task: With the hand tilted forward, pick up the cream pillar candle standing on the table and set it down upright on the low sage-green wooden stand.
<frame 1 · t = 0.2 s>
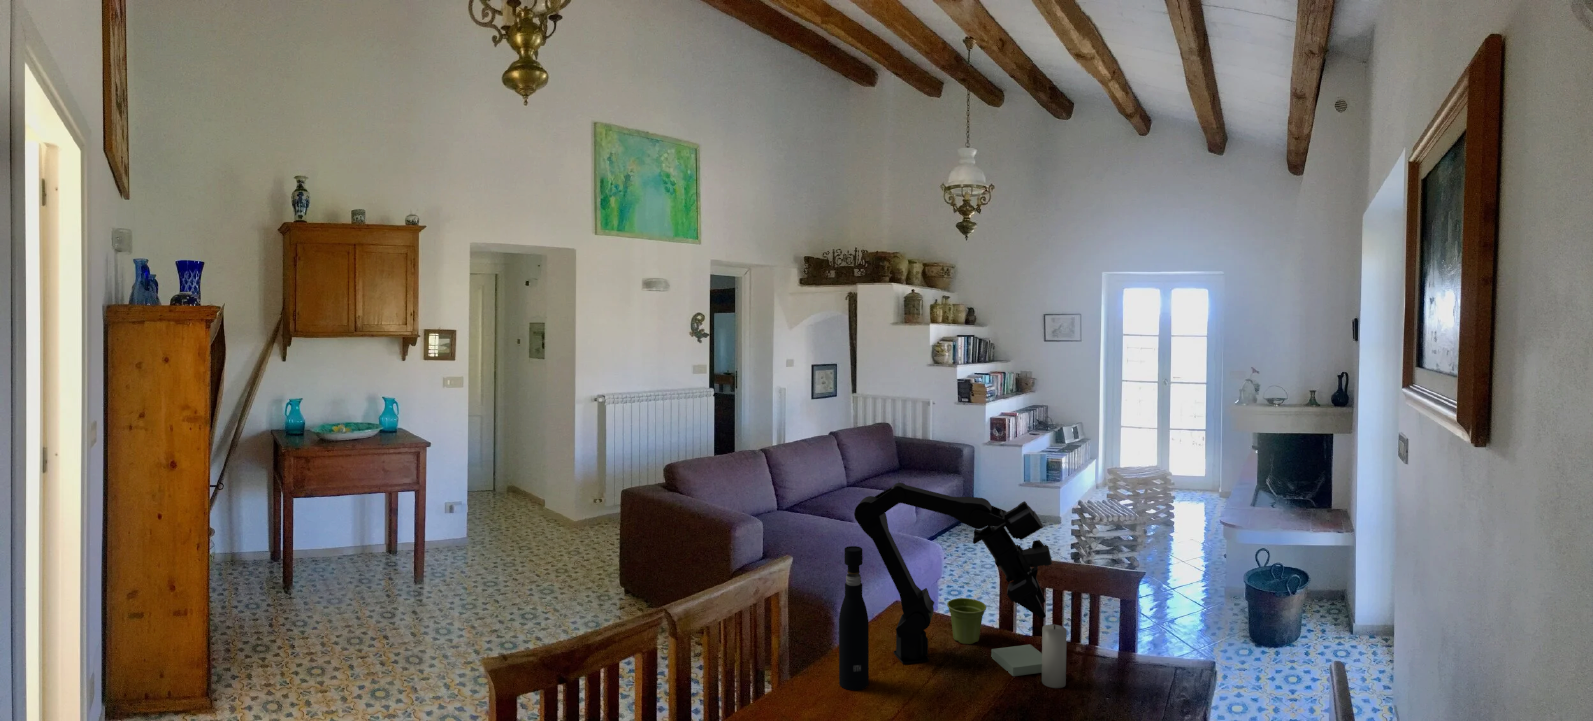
hand: (1043, 609, 183), 14 cm above the table, tool tilted 35°, fingers open, 9 cm apart
candle: (1053, 682, 179), on the table
plant pot: (966, 640, 202), on the table
stand: (1021, 663, 188), on the table
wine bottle: (853, 684, 179), on the table
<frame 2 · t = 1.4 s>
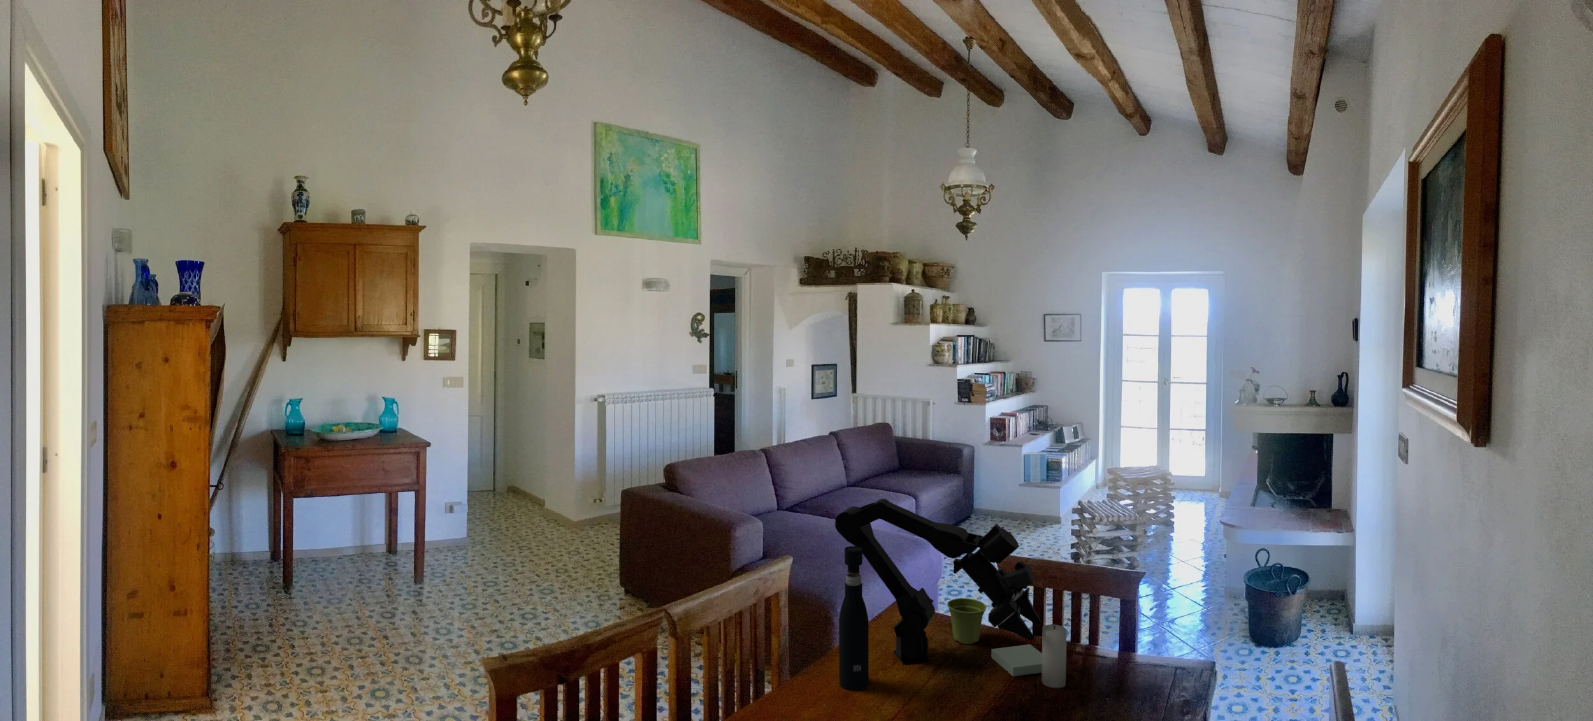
hand: (1036, 631, 180), 11 cm above the table, tool tilted 45°, fingers open, 9 cm apart
nothing on the table moved.
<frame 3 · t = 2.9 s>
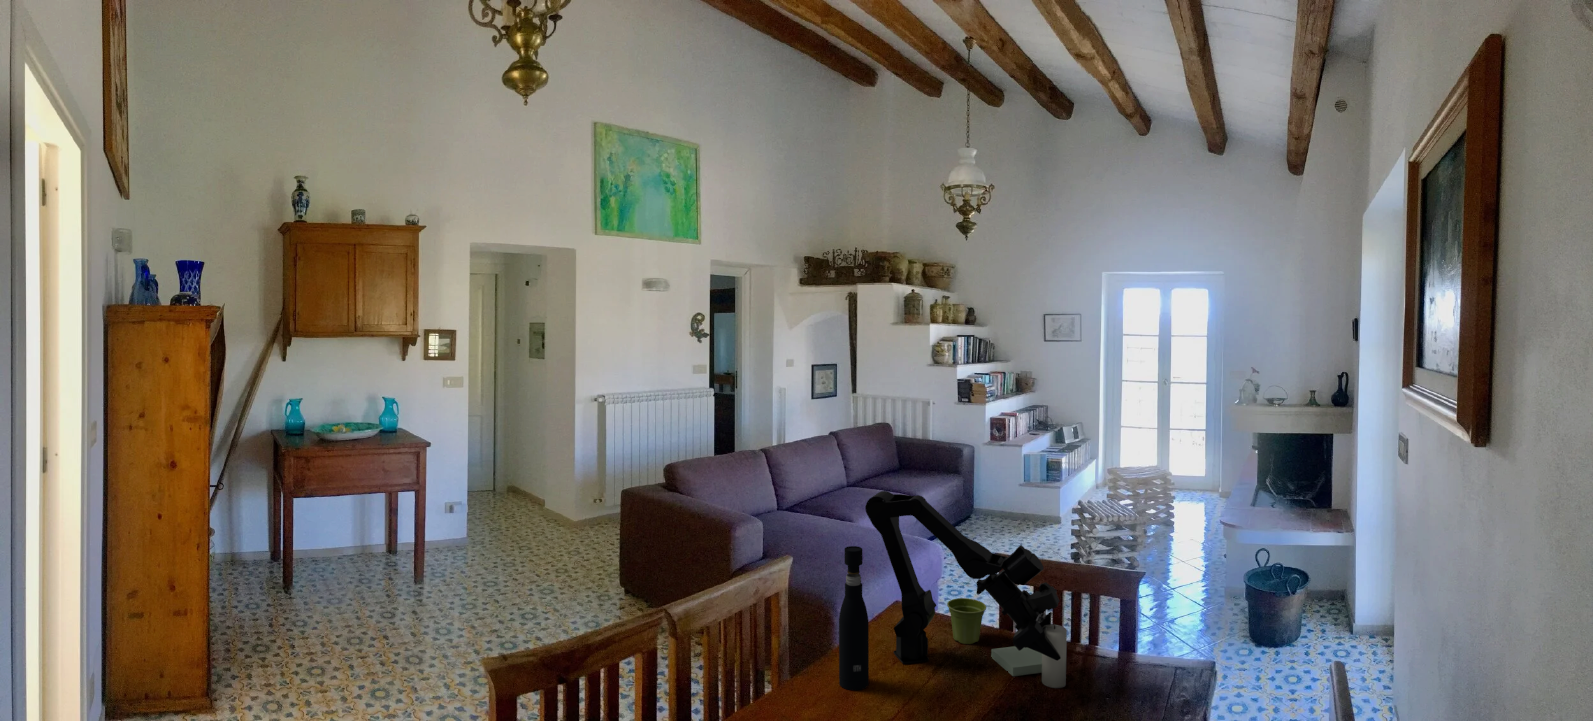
hand: (1060, 654, 178), 7 cm above the table, tool tilted 45°, fingers closed on candle, 5 cm apart
candle: (1053, 682, 179), on the table, touching gripper
everything else where it was.
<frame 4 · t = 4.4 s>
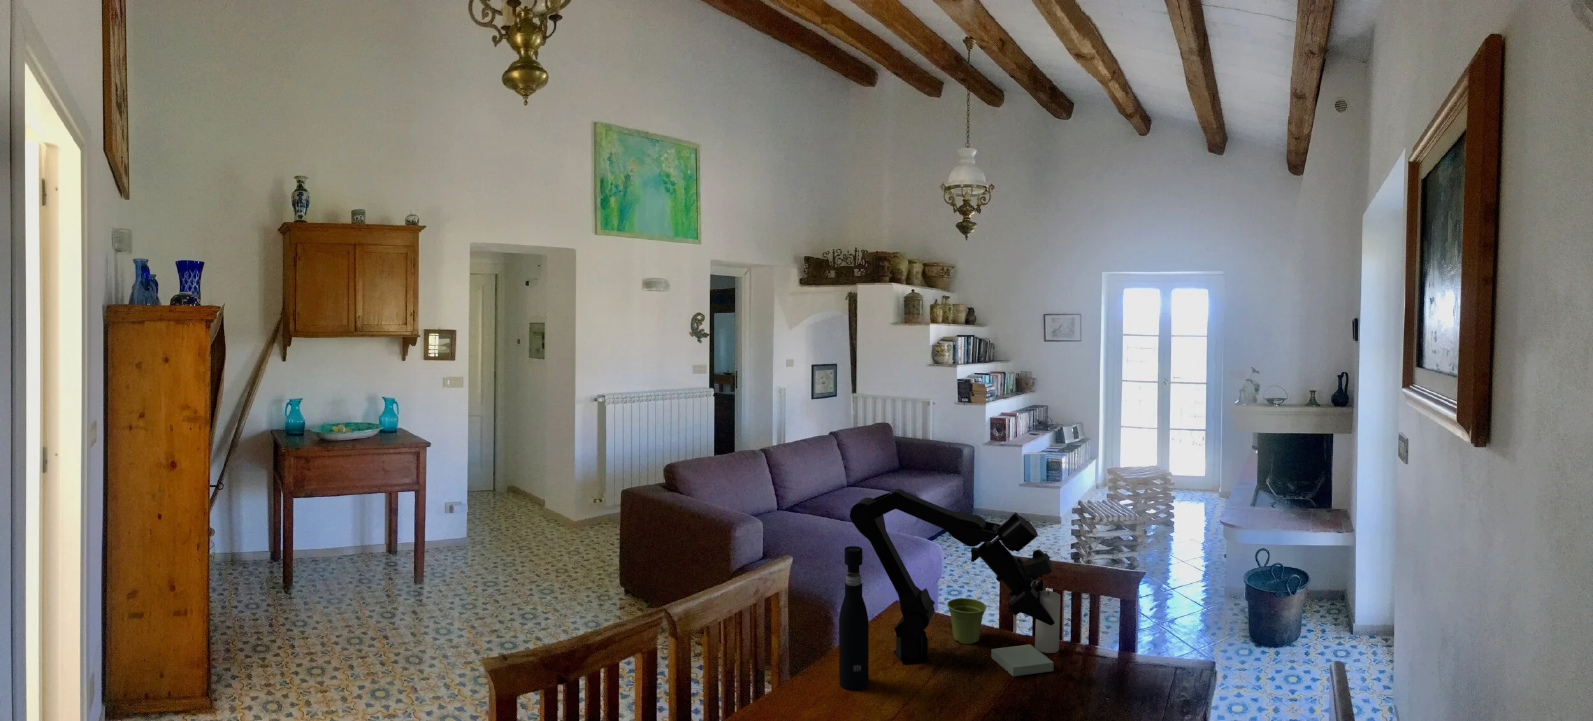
hand: (1054, 619, 179), 13 cm above the table, tool tilted 45°, fingers closed on candle, 5 cm apart
candle: (1046, 647, 180), point 7 cm above the table, touching gripper
everything else where it was.
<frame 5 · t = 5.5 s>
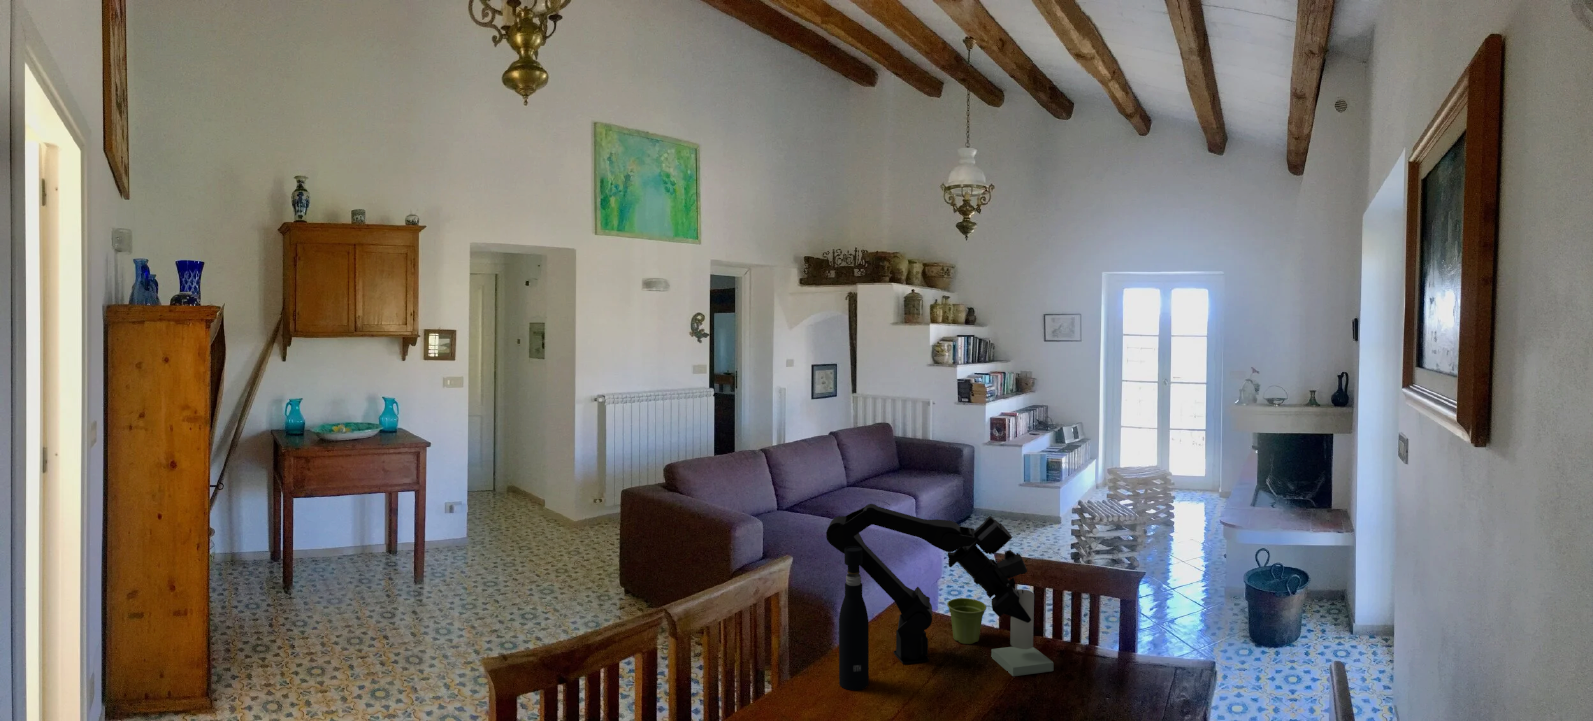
hand: (1028, 616, 187), 11 cm above the table, tool tilted 45°, fingers closed on candle, 5 cm apart
candle: (1021, 644, 188), point 5 cm above the table, touching gripper
everything else where it was.
when the fingers open (10 cm above the table, at t = 6.1 s): candle drops 1 cm, resting on stand.
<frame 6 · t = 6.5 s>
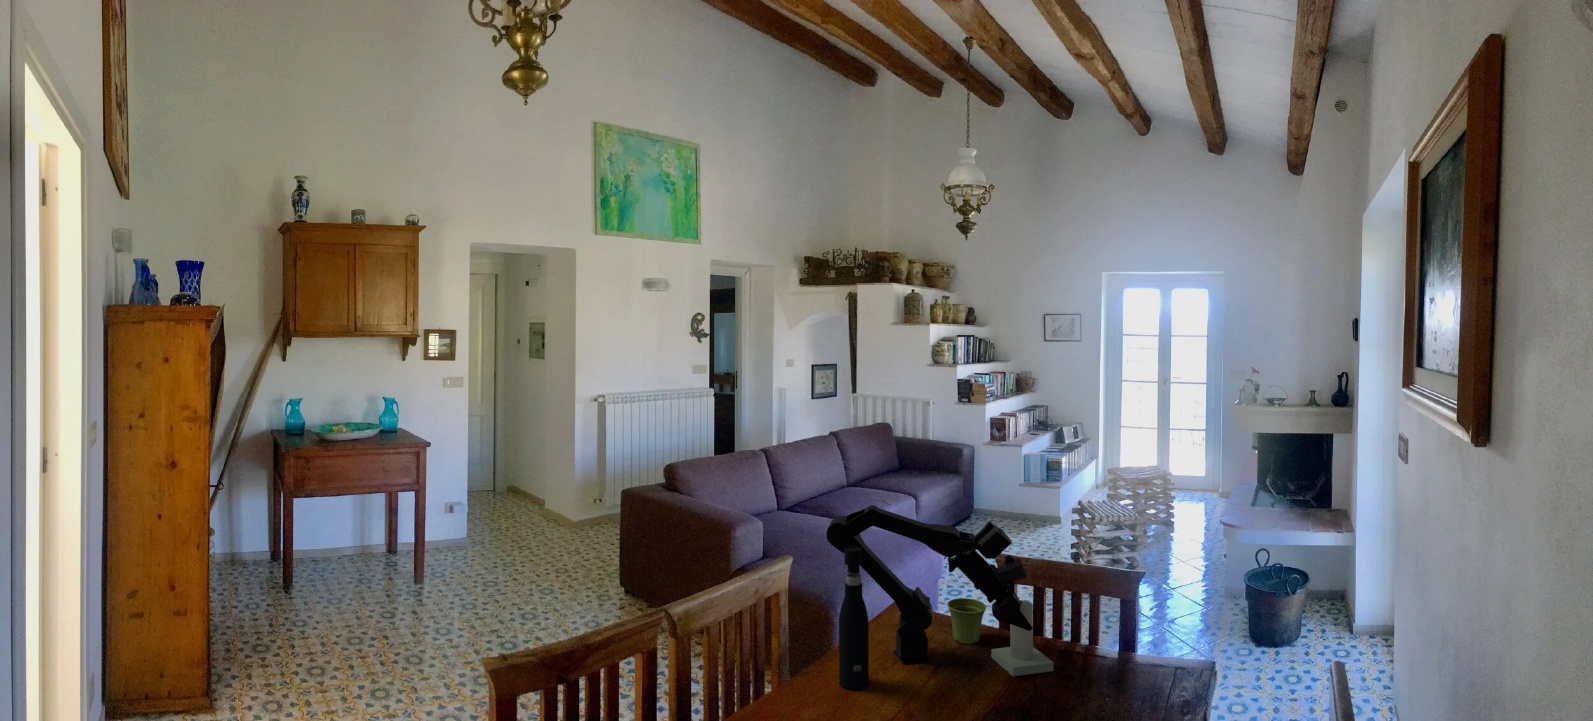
hand: (1028, 621, 187), 10 cm above the table, tool tilted 45°, fingers open, 9 cm apart
candle: (1021, 655, 188), point 2 cm above the table, touching stand
everything else where it was.
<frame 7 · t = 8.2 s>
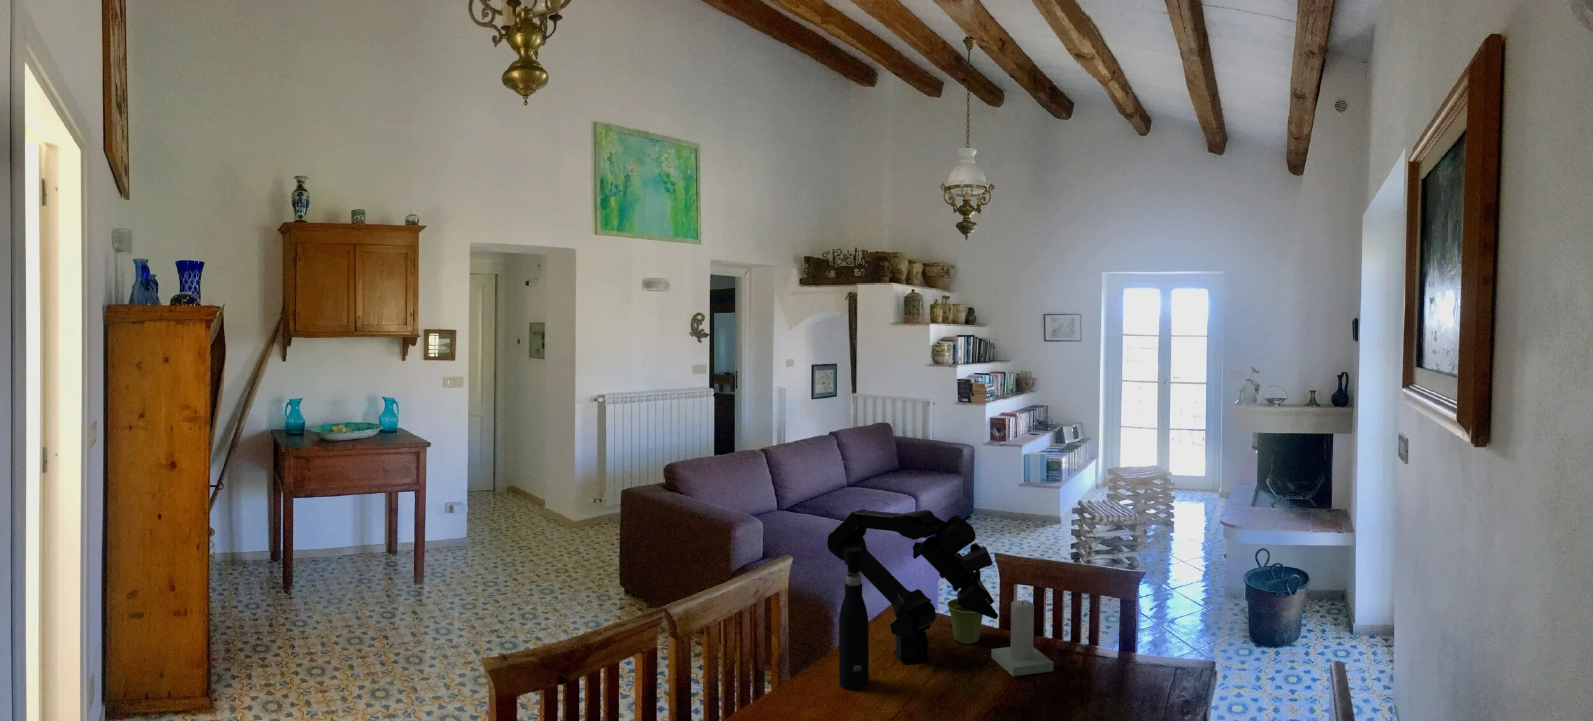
hand: (994, 610, 184), 14 cm above the table, tool tilted 45°, fingers open, 9 cm apart
nothing on the table moved.
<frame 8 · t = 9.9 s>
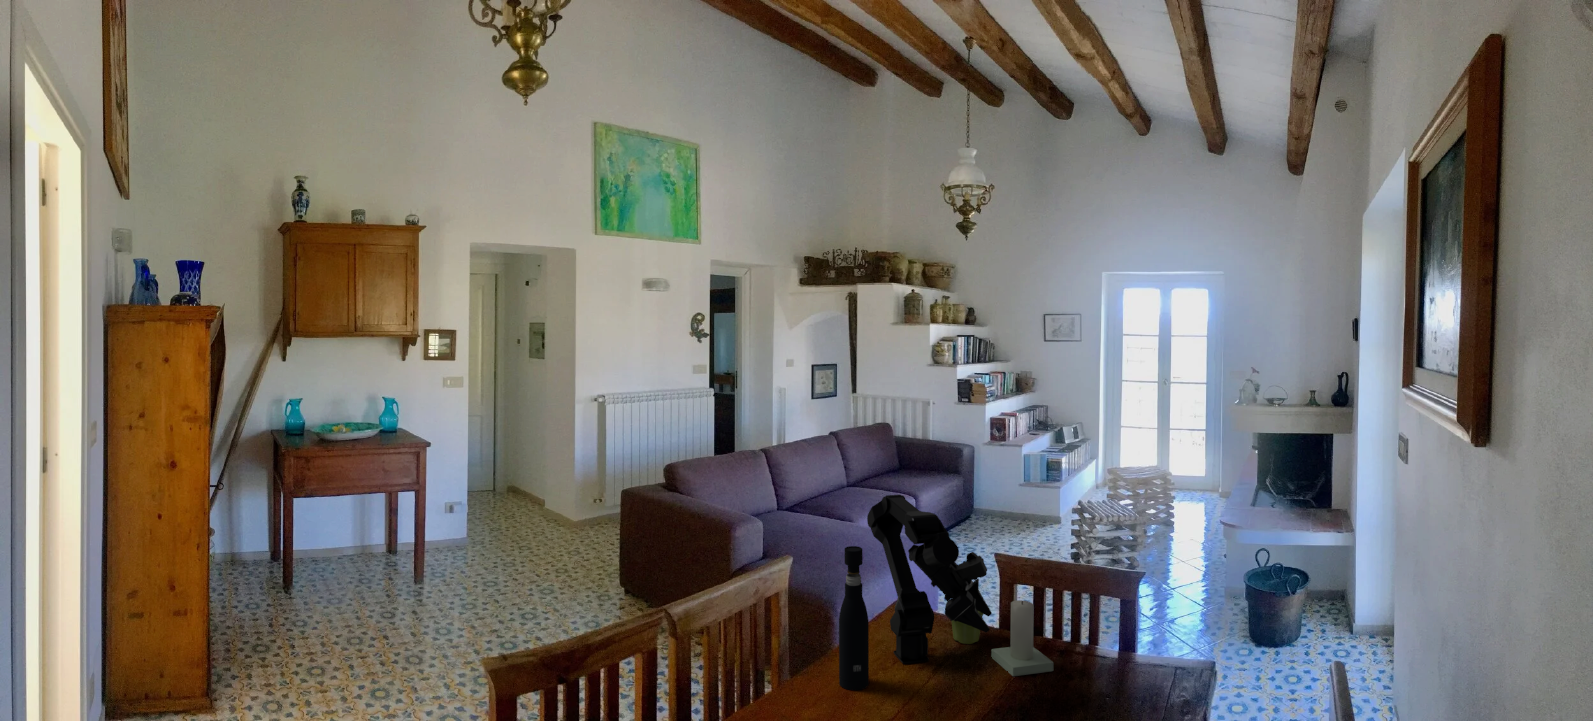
hand: (989, 622, 178), 14 cm above the table, tool tilted 45°, fingers open, 9 cm apart
nothing on the table moved.
at the end: candle inside the target area on the stand (0.0 cm from its centre), point 2.0 cm above the stand's base; candle tilted 0°; the gripper is holding nothing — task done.
